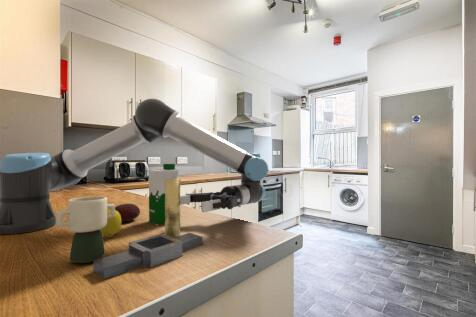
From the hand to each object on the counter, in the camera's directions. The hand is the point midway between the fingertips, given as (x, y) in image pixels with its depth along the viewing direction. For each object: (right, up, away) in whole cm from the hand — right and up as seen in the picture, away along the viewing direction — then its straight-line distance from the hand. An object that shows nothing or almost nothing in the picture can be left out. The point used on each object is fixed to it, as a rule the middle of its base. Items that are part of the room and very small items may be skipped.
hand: (186, 204), depth 68 cm
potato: (-24, -9, +14) cm, 29 cm away
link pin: (-3, -9, -3) cm, 10 cm away
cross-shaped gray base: (-4, -8, -16) cm, 18 cm away
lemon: (-20, -9, -3) cm, 22 cm away
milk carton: (-11, -9, +14) cm, 20 cm away
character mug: (-17, -9, -18) cm, 26 cm away
